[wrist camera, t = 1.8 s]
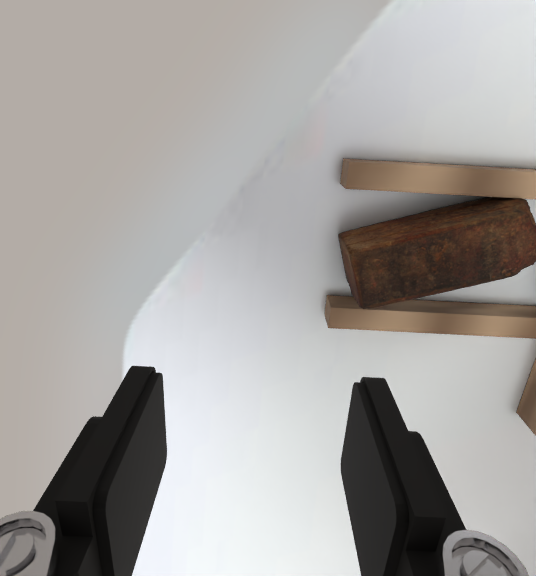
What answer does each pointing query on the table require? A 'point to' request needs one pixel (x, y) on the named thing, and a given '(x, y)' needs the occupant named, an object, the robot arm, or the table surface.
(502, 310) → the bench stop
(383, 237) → the brick
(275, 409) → the table surface
